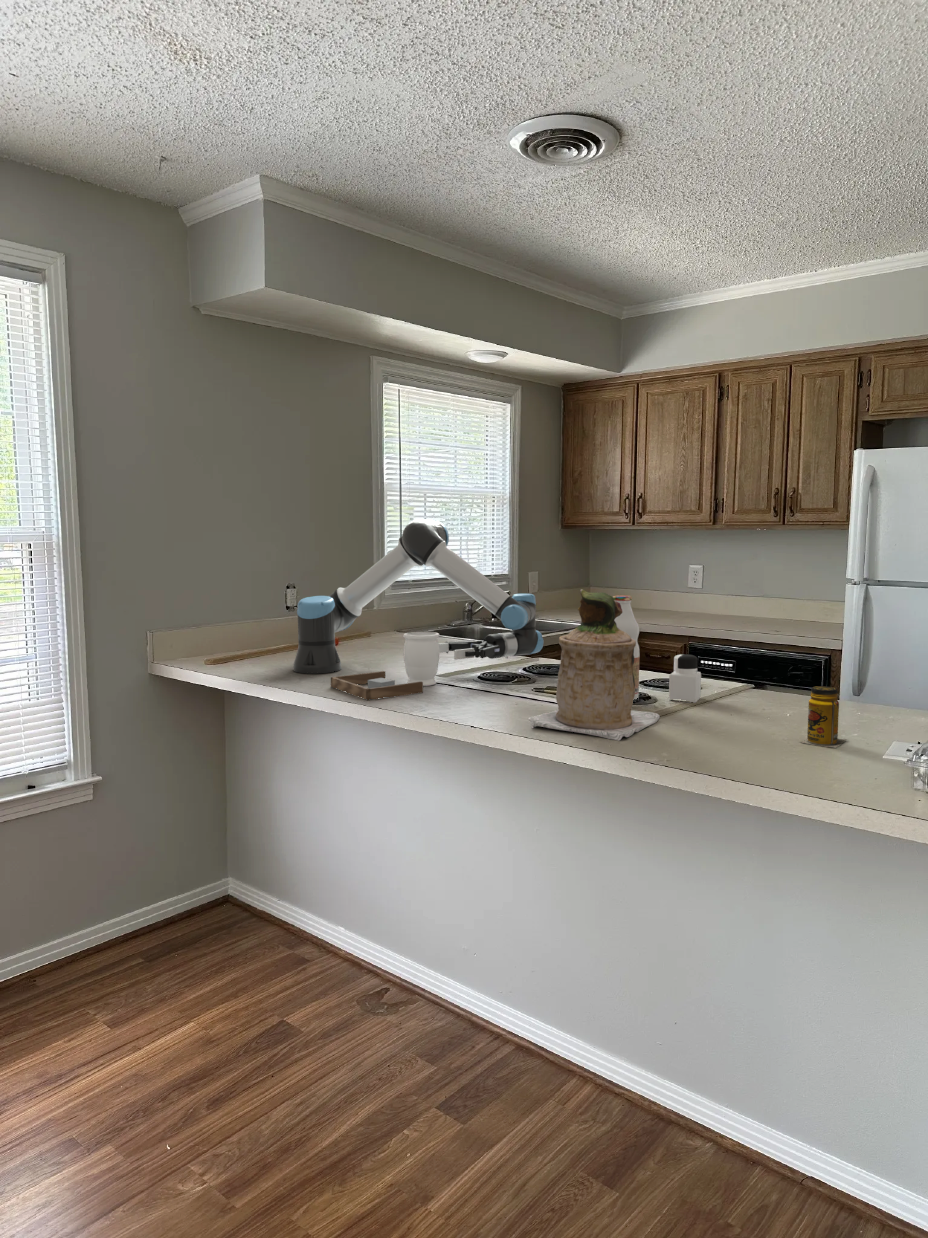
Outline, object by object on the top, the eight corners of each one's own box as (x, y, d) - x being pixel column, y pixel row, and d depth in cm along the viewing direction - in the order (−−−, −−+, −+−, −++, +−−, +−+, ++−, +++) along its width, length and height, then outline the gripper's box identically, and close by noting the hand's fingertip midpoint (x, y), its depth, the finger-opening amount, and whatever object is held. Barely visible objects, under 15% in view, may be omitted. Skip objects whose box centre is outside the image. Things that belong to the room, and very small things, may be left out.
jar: (441, 681, 256) (441, 631, 254) (437, 687, 246) (437, 636, 244) (406, 680, 257) (406, 631, 256) (401, 687, 247) (400, 635, 245)
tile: (367, 690, 244) (367, 680, 244) (381, 687, 248) (381, 677, 247) (381, 693, 240) (381, 682, 239) (394, 690, 243) (394, 680, 243)
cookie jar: (625, 742, 185) (627, 595, 181) (524, 728, 198) (525, 591, 194) (662, 720, 206) (665, 587, 202) (569, 708, 219) (570, 584, 215)
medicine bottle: (700, 698, 230) (701, 654, 229) (696, 703, 224) (697, 658, 223) (673, 695, 233) (675, 652, 232) (668, 700, 227) (669, 656, 226)
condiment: (800, 743, 184) (802, 688, 183) (813, 735, 190) (815, 682, 189) (835, 749, 179) (838, 692, 178) (847, 741, 186) (850, 686, 184)
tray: (331, 687, 247) (330, 677, 246) (383, 680, 257) (383, 670, 256) (367, 700, 229) (367, 689, 229) (422, 692, 239) (422, 682, 239)
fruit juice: (606, 704, 223) (608, 597, 219) (599, 697, 232) (601, 594, 229) (642, 704, 223) (644, 597, 220) (633, 696, 232) (635, 594, 229)
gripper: (524, 662, 256) (466, 670, 244) (476, 652, 277) (420, 659, 265) (524, 638, 255) (465, 644, 243) (476, 629, 276) (420, 635, 264)
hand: (442, 652), depth 254 cm, fingers open, 13 cm apart
